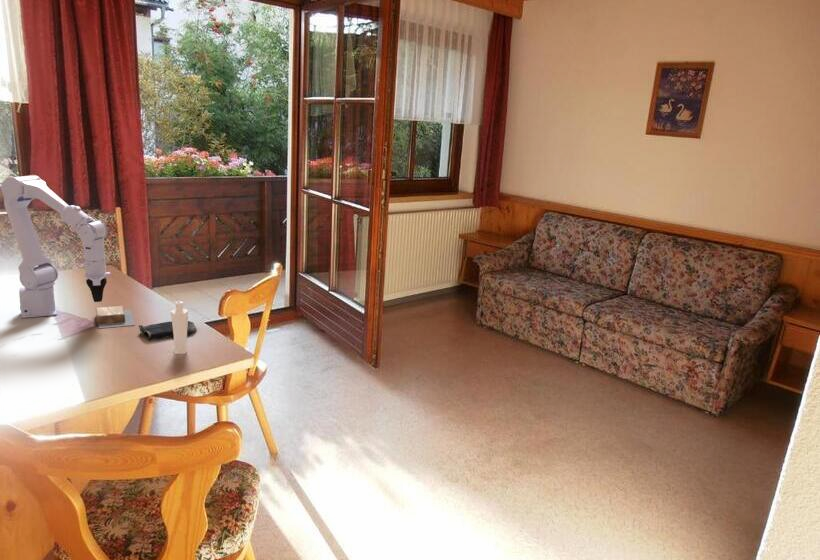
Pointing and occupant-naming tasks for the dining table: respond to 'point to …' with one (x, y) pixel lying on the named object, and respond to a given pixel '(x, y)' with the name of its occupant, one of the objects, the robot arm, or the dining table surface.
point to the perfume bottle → (180, 328)
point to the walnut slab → (110, 315)
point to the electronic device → (162, 330)
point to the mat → (128, 322)
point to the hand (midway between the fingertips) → (97, 301)
